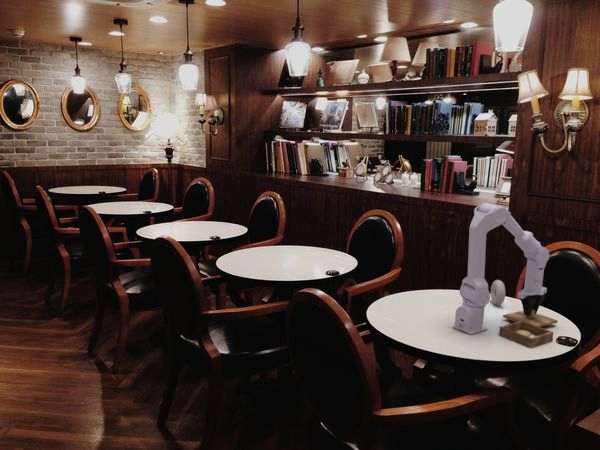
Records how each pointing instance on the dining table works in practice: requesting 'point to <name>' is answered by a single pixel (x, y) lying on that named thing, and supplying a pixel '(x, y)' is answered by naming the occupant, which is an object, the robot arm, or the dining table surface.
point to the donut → (498, 292)
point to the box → (511, 334)
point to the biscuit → (524, 332)
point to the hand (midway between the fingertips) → (529, 314)
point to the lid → (531, 318)
